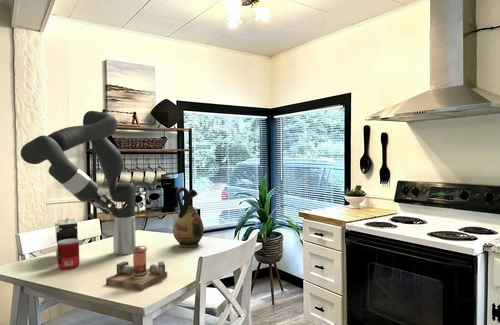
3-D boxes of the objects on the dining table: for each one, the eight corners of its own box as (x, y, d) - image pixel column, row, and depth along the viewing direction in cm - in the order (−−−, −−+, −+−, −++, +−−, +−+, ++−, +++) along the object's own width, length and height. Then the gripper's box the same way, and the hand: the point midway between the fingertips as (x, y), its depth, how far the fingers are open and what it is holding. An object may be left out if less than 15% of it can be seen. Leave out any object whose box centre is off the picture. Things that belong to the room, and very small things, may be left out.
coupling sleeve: (129, 276, 125) (129, 248, 125) (139, 271, 130) (138, 245, 130) (140, 277, 123) (140, 249, 123) (150, 273, 128) (149, 246, 128)
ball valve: (54, 253, 164) (54, 216, 164) (75, 251, 169) (74, 214, 169) (56, 263, 149) (55, 222, 149) (78, 260, 153) (77, 220, 153)
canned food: (83, 264, 147) (83, 239, 147) (68, 270, 139) (67, 243, 139) (69, 263, 149) (69, 237, 149) (53, 269, 142) (53, 242, 141)
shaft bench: (106, 284, 124) (105, 268, 124) (134, 271, 137) (134, 257, 137) (143, 290, 117) (143, 274, 117) (169, 277, 130) (169, 262, 130)
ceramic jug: (191, 240, 188) (191, 185, 188) (210, 245, 177) (209, 186, 177) (164, 246, 176) (163, 187, 175) (182, 251, 165) (181, 189, 165)
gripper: (96, 177, 112) (131, 208, 121) (79, 175, 122) (112, 203, 131) (80, 195, 108) (116, 225, 117) (64, 191, 118) (98, 220, 127)
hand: (114, 214), depth 124 cm, fingers open, 8 cm apart
